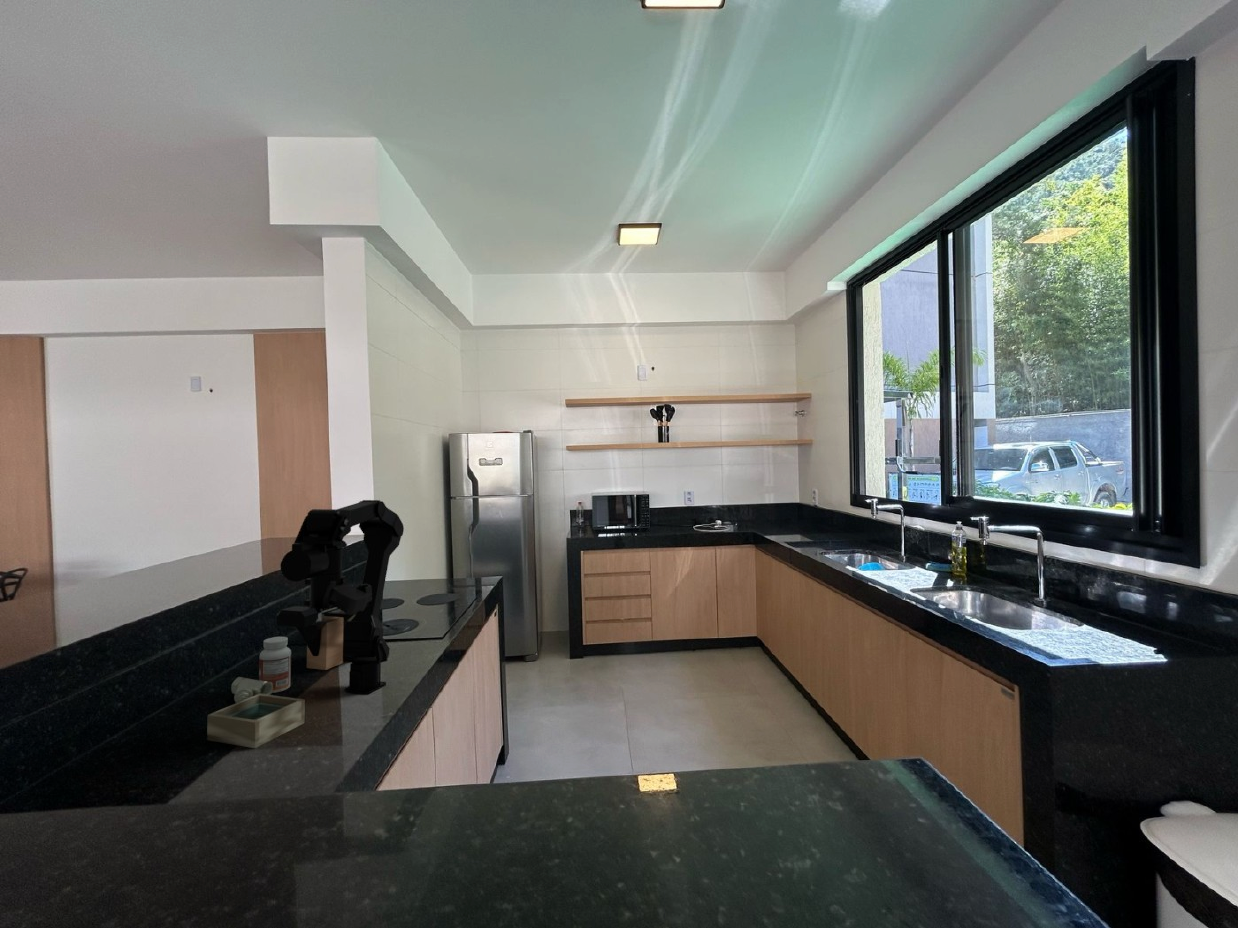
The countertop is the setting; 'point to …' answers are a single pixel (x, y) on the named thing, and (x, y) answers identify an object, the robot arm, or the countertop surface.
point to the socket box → (255, 720)
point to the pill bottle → (276, 663)
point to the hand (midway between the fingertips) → (324, 652)
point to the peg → (328, 645)
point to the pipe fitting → (250, 688)
